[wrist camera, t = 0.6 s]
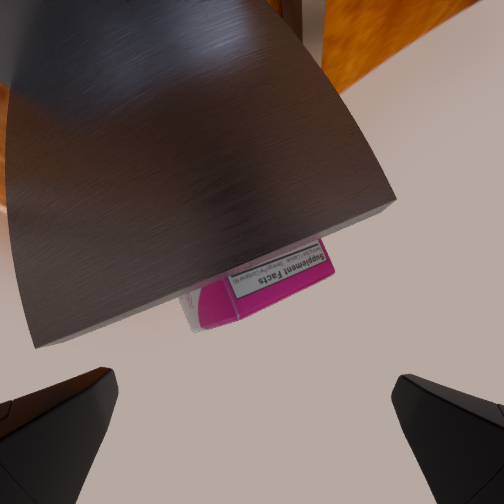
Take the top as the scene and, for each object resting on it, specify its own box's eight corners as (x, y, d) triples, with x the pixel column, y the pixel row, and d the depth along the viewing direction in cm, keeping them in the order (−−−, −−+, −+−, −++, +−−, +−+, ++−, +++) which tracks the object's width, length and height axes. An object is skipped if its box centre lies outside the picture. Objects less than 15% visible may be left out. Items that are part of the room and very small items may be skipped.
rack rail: (258, -146, 2) (290, -143, 2) (289, -147, 2) (324, -142, 2) (288, 87, 17) (302, 111, 17) (302, 82, 17) (317, 106, 16)
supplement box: (208, 140, 20) (273, 300, 18) (125, 150, 17) (185, 336, 15) (248, 82, 15) (340, 276, 14) (144, 80, 12) (231, 326, 10)
